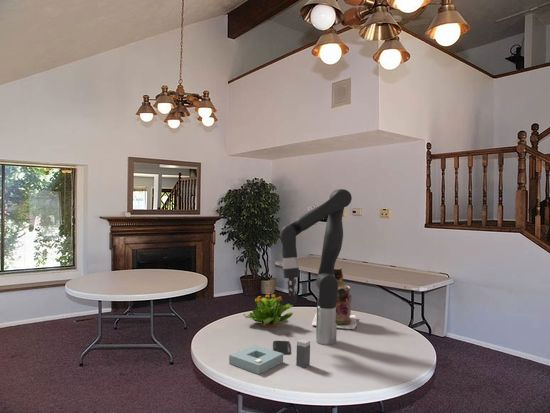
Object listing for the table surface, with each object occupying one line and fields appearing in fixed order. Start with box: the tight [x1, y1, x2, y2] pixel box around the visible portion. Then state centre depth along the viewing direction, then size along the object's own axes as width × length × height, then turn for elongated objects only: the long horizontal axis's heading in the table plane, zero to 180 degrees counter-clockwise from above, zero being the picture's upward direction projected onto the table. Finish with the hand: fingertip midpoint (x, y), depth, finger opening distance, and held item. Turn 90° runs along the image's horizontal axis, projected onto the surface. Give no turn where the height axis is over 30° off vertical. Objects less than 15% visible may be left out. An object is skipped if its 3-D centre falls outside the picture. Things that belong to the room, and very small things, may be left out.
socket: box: [228, 344, 284, 375], centre depth 159 cm, size 16×16×4 cm
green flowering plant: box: [243, 293, 294, 328], centre depth 212 cm, size 25×24×18 cm
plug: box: [295, 338, 311, 369], centre depth 158 cm, size 4×4×10 cm
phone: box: [272, 340, 291, 355], centre depth 177 cm, size 8×1×15 cm
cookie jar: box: [311, 266, 357, 330], centre depth 219 cm, size 25×25×32 cm
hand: (293, 302), depth 179 cm, fingers open, 8 cm apart
